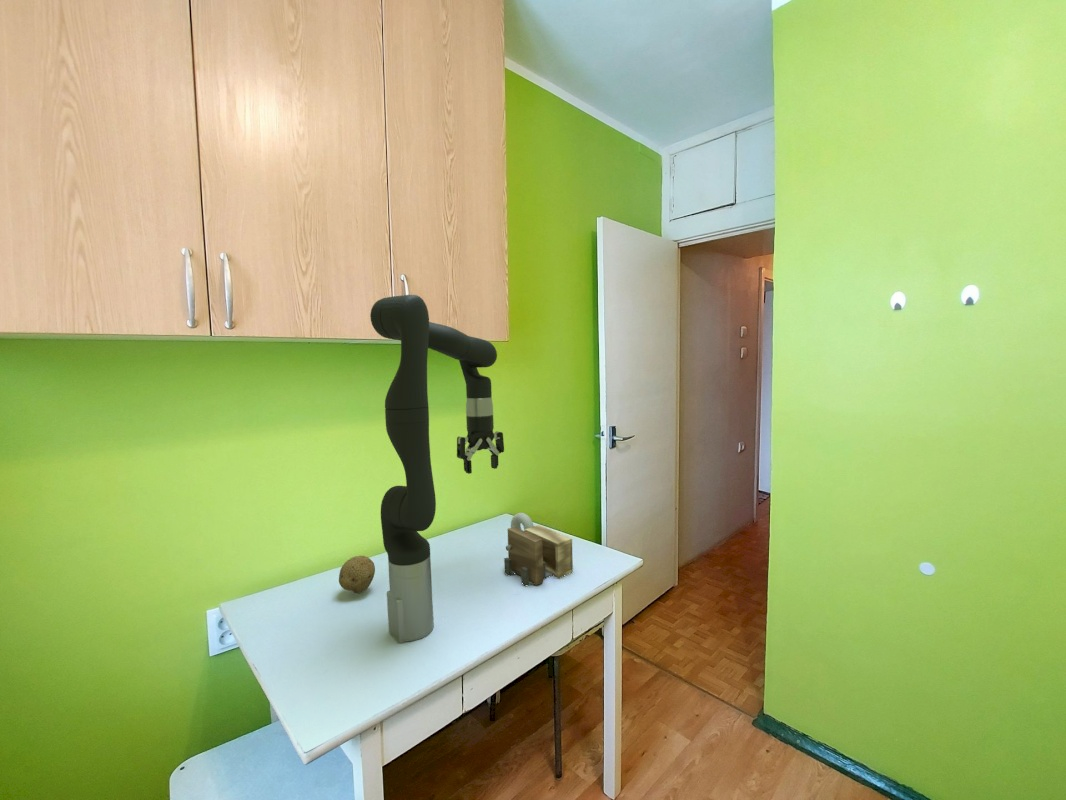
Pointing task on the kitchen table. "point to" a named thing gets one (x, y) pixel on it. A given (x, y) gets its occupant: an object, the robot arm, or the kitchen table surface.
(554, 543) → the cabinet
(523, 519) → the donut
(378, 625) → the kitchen table surface
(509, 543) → the door
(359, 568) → the brown potato
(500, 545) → the kitchen table surface
